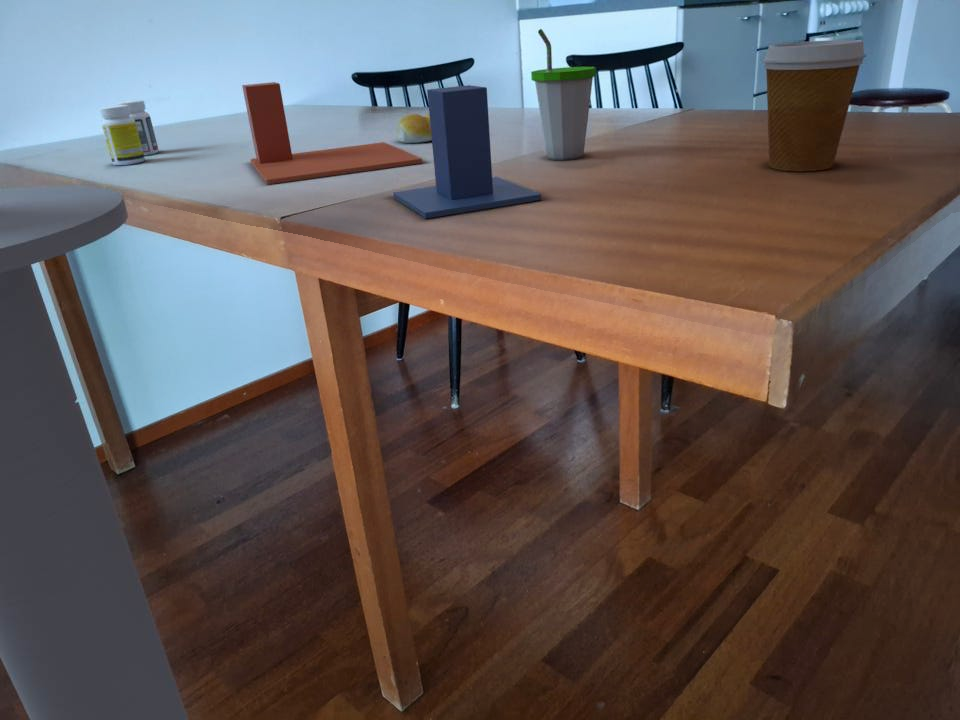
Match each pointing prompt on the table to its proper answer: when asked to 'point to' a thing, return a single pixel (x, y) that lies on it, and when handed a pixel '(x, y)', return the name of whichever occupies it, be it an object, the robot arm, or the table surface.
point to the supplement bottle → (121, 135)
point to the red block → (267, 122)
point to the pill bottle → (143, 126)
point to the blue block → (461, 141)
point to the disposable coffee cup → (809, 100)
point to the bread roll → (414, 129)
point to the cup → (563, 106)
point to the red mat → (334, 162)
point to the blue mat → (464, 199)
